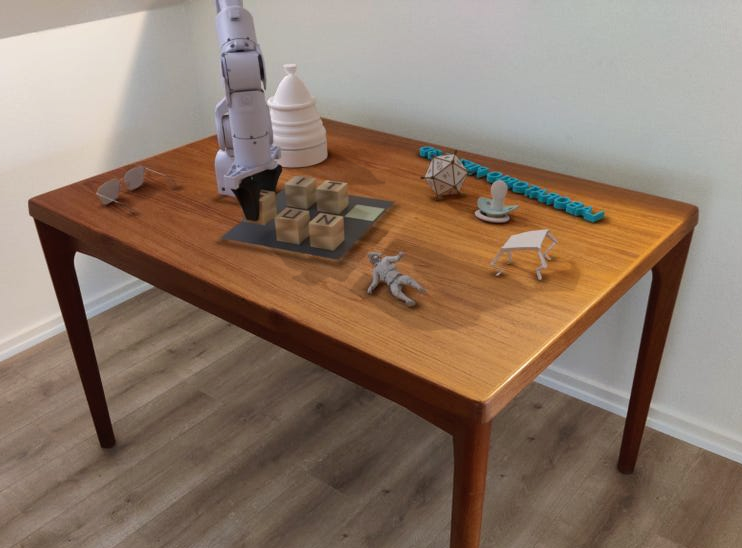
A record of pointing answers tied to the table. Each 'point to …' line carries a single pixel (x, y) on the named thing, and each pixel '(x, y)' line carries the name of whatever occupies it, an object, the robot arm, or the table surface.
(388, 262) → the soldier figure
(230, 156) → the robot arm
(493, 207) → the pacifier
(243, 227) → the letter board
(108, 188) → the eyeglasses
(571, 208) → the text ornament
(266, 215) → the block
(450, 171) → the game die
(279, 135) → the honey pot
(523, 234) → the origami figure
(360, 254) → the table surface
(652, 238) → the table surface
